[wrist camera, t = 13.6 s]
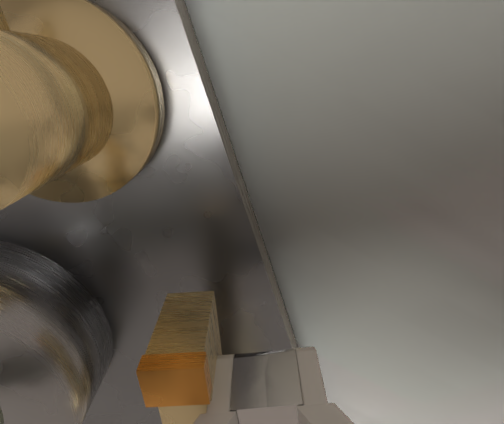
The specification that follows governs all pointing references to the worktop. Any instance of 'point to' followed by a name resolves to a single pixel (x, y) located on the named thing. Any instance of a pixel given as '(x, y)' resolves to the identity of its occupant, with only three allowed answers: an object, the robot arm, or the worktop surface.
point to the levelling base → (134, 255)
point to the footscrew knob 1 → (73, 102)
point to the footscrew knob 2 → (181, 357)
